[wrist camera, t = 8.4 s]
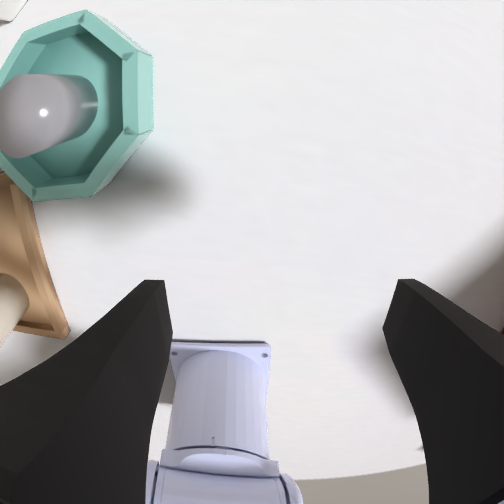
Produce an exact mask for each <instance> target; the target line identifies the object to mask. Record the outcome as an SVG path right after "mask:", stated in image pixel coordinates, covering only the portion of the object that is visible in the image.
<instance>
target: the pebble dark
mask: <svg viewBox="0 0 504 504" xmlns="http://www.w3.org/2000/svg"><path fill="white" fill-rule="evenodd" d="M97 110H98V97H97V92H96V90H95V88H94V86H93V84H92V83H91V82H90V81H89V80H88V79H86V78H85V77H83V76H79V75H64V74H22V75H18V76H15V77H14V78H12V79H11V80H9V81H8V82H7V83H6V84H5V85H4V86H3V87H2V89H1V90H0V149H1V151H2V152H3V153H5V154H6V155H7V156H9V157H12V158H18V159H19V158H24V157H27V156H29V155H32V154H35V153H37V152H40V151H42V150H45V149H48V148H50V147H53V146H56V145H59V144H61V143H64V142H67V141H70V140H73V139H76V138H78V137H80V136H82V135H83V134H84V133H86V132H87V131H88V130H89V128H90V127H91V125H92V124H93V122H94V120H95V117H96V114H97Z"/></svg>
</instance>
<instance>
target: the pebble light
mask: <svg viewBox="0 0 504 504" xmlns="http://www.w3.org/2000/svg"><path fill="white" fill-rule="evenodd" d="M28 308H29V298H28V295H27V292H26V291H25V289H24V287H23V286H22V285H21V283H20V282H19V281H18V280H17V279H15V278H14V277H13V276H11V275H9V274H0V347H1V346H2V344H3V343H4V342H5V340H6V339H7V337H8V336H9V334H10V333H11V332H12V330H13V329H14V327H15V326H16V325H17V323H18V322H19V321H20V319H21V318H22V317H23V315H24V314H25V313H26V311H27V310H28Z"/></svg>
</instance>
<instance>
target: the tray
mask: <svg viewBox="0 0 504 504" xmlns="http://www.w3.org/2000/svg"><path fill="white" fill-rule="evenodd" d="M0 274H9V275H11V276H13V277H14V278H15V279H17V280H18V281H19V282H20V283H21V285H22V286H23V287H24V289H25V291H26V292H27V295H28V298H29V308H28V310H27V311H26V313H25V314H24V315H23V317H22V318H21V319H20V321H19V322H18V323H17V325H16V326H15V327H14V329H13V331H18V332H24V333H29V334H34V335H40V336H46V337H52V338H58V339H66V337H67V336H68V334H69V332H70V328H69V325H68V323H67V320H66V318H65V315H64V313H63V310H62V307H61V305H60V302H59V299H58V296H57V293H56V290H55V288H54V285H53V281H52V278H51V275H50V272H49V269H48V266H47V262H46V259H45V255H44V252H43V248H42V244H41V240H40V237H39V233H38V228H37V224H36V220H35V215H34V211H33V206H32V201H31V199H30V198H29V197H28V196H27V195H26V194H25V193H24V192H23V191H22V190H21V189H20V188H19V187H18V186H17V185H16V184H15V183H14V181H13V180H12V179H11V178H10V177H9V176H8V175H7V174H6V173H5V172H0Z"/></svg>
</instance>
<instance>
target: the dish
mask: <svg viewBox="0 0 504 504" xmlns="http://www.w3.org/2000/svg"><path fill="white" fill-rule="evenodd" d="M22 74H64V75H79V76H83V77H85V78H86V79H88V80H89V81H90V82H91V83H92V84H93V86H94V88H95V90H96V92H97V97H98V110H97V114H96V117H95V120H94V122H93V124H92V125H91V127H90V128H89V130H88V131H87V132H86V133H84V134H83V135H82V136H80V137H78V138H76V139H73V140H70V141H67V142H64V143H61V144H59V145H56V146H53V147H50V148H48V149H45V150H42V151H40V152H37V153H35V154H32V155H29V156H27V157H24V158H19V159H18V158H12V157H9V156H7V155H6V154H5V153H3V152H2V151H1V149H0V167H1V168H2V170H3V171H4V172H5V173H6V174H7V175H8V176H9V177H10V178H11V179H12V180H13V181H14V183H15V184H16V185H17V186H18V187H19V188H20V189H21V190H22V191H23V192H24V193H25V194H26V195H27V196H28V197H29V198H30V199H31V200H32V201H33V200H34V202H35V201H46V200H57V199H70V198H84V197H91V196H93V195H94V194H96V193H97V192H98V191H100V190H101V189H102V188H104V187H105V186H106V185H108V184H109V183H110V182H111V181H112V180H113V178H114V177H115V176H116V174H117V173H118V172H119V171H120V169H121V168H122V167H123V165H124V164H125V163H126V162H127V160H128V159H129V158H130V157H131V155H132V154H133V153H134V152H135V151H136V149H137V148H138V147H139V146H140V145H141V143H142V142H143V141H144V140H145V139H146V138H147V136H148V135H149V134H150V133H151V132H152V131H153V130H152V129H153V57H152V55H150V54H149V53H148V52H147V51H146V50H144V49H143V48H142V47H141V46H140V45H138V44H137V43H136V42H135V41H133V40H132V39H131V38H130V37H128V36H127V35H126V34H125V33H123V32H122V31H121V30H120V29H118V28H117V27H116V26H115V25H113V24H112V23H111V22H109V21H108V20H107V19H105V18H103V17H101V16H99V15H97V14H95V13H93V12H90V11H88V10H82V11H79V12H75V13H72V14H69V15H66V16H63V17H60V18H57V19H55V20H52V21H49V22H47V23H44V24H41V25H39V26H36V27H34V28H32V29H29V30H27V31H25V32H24V33H23V34H22V35H21V37H20V38H19V40H18V41H17V43H16V45H15V46H14V48H13V49H12V51H11V53H10V54H9V56H8V58H7V59H6V61H5V63H4V65H3V66H2V68H1V70H0V90H1V89H2V87H3V86H4V85H5V84H6V83H7V82H8V81H9V80H11V79H12V78H14V77H15V76H18V75H22Z"/></svg>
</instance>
